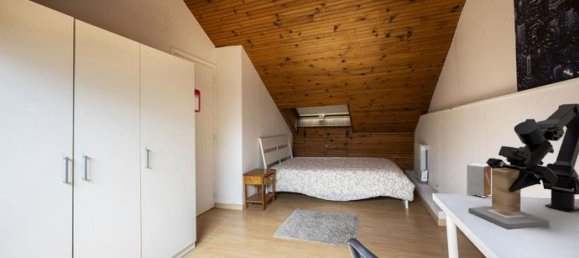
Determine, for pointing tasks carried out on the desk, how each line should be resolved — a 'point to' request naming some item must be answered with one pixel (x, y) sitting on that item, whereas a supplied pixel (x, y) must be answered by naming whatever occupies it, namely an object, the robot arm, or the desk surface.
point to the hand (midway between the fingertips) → (502, 189)
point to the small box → (478, 179)
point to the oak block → (505, 190)
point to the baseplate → (508, 218)
